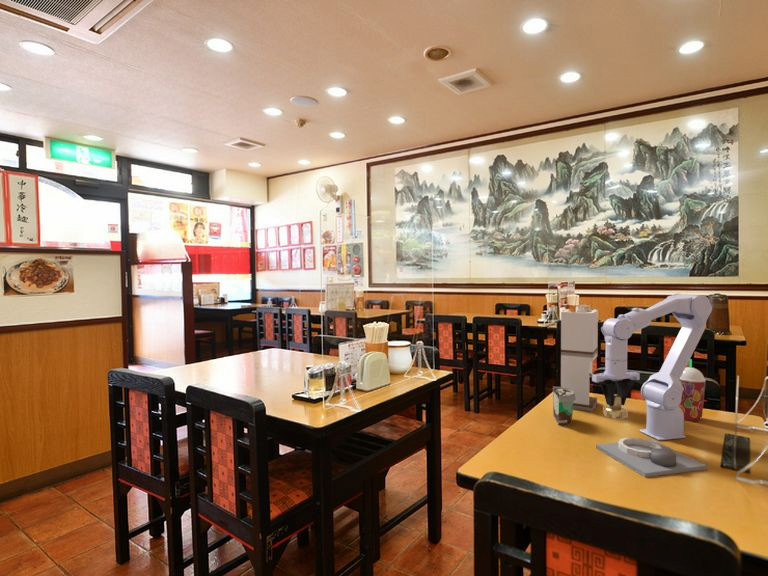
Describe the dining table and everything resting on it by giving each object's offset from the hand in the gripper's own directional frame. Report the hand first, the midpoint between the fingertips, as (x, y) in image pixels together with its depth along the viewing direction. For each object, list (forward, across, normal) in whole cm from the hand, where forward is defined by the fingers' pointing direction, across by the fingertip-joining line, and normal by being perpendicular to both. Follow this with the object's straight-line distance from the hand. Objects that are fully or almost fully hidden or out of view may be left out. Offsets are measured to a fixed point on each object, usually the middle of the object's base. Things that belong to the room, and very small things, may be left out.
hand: (615, 404), depth 133 cm
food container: (+11, +5, -18) cm, 21 cm away
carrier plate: (+10, +1, +13) cm, 17 cm away
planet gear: (+3, 0, 0) cm, 3 cm away
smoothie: (+10, -36, -10) cm, 39 cm away
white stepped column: (+10, -10, -32) cm, 35 cm away
